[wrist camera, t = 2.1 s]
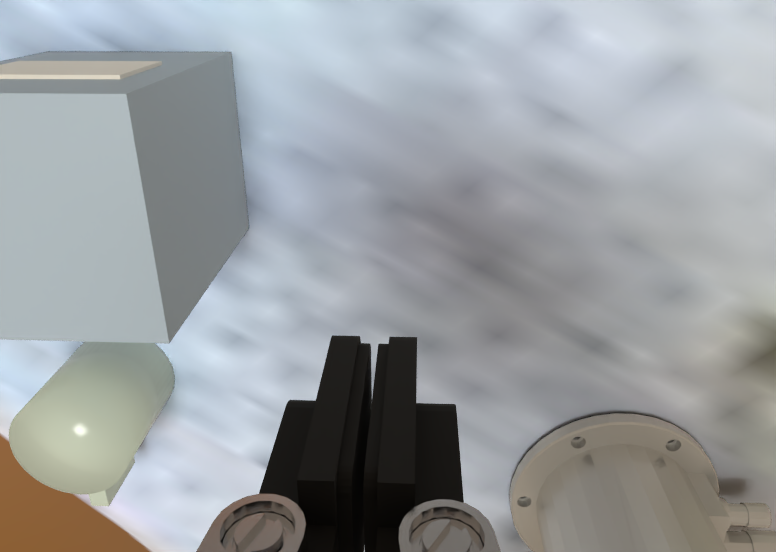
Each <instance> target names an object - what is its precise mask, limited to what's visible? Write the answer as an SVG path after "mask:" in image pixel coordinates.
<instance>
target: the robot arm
mask: <svg viewBox="0 0 776 552" xmlns="http://www.w3.org/2000/svg"><path fill="white" fill-rule="evenodd" d="M416 369H417V337H390V338H389V344H379V345H378V354H377V362H376V371H375V380H374V389H373V398H372V391H371V346H370V344H364V343H361V341H360V336H332V337H331V341H330V345H329V349H328V353H327V358H326V362H325V366H324V370H323V374H322V378H321V382H320V386H319V390H318V394H317V399H316V401H305V400H290V401H288V403H287V405H286V408H285V411H284V415H283V418H282V421H281V424H280V427H279V431H278V434H277V437H276V440H275V444H274V447H273V450H272V453H271V457H270V460H269V463H268V466H267V470H266V473H265V476H264V479H263V483H262V486H261V489H260V492H259V494H257V495H252V496H247V497H244V498H242V499H240V500H238V501H235V502H233V503H232V504H230V505H229V506H228V507H226V508H225V509H224V510H222V511H221V513H220V514H219V515H218V516H217V518H216V519H215V520H214V521H213V523H212V525H211V527H210V528H209V530H208V532H207V534H206V535H205V537H204V539H203V541H202V542H201V544H200V546H199V548H198V549H197V551H196V552H364V545H365V552H501V551H500V548H499V545H498V542H497V539H496V536H495V532H494V530H493V528H492V526H491V524H490V522H489V520H488V519H487V518H486V517H485V516H484V515H483V514H482V513H481V512H480V511H479V510H477V509H475V508H473V507H472V506H470V505H468V504H466V503H464V501H463V489H462V476H461V463H460V451H459V438H458V425H457V413H456V405H455V404H422V403H416ZM509 496H510V507H511V513H512V517H513V522H514V526H515V528H516V530H517V532H518V534H519V536H520V538H521V539H522V540H523V541H524V542H525V544H526V545H527V546H528V547H529V548H530V549H531V550H532V551H533V552H776V532H775V531H763V530H741V531H727V530H728V529H729V528H730V525H733V526H743V527H756V528H769V527H770V525H771V520H772V519H771V512H770V510H769V508H768V506H767V505H766V504H762V503H740V504H729V503H727V502H726V500H725V499H723V498H719V484H718V478H717V474H716V472H715V470H714V467H713V465H712V463H711V461H710V459H709V458H708V456H707V455H706V453H705V452H704V450H703V449H702V447H701V446H700V444H699V443H697V442H696V441H695V440H694V439H693V438H692V437H691V436H690V435H689V434H688V433H686V432H685V431H683V430H681V429H680V428H678V427H676V426H675V425H673V424H671V423H668V422H665V421H663V420H660V419H657V418H654V417H649V416H643V415H638V414H618V413H614V414H606V415H598V416H592V417H589V418H585V419H581V420H578V421H574V422H572V423H570V424H568V425H565V426H563V427H561V428H559V429H557V430H555V431H553V432H552V433H550V434H549V435H547V436H546V437H544V438H543V439H541V440H540V441H539V442H538V443H537V444H536V445H535V446H534V447H533V448H532V449H530V450H529V451H528V452H527V454H526V455H525V457H524V458H523V459H522V461H521V462H520V464H519V465H518V467H517V469H516V471H515V474H514V476H513V478H512V482H511V488H510V494H509Z"/></svg>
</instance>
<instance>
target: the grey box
mask: <svg viewBox="0 0 776 552" xmlns="http://www.w3.org/2000/svg"><path fill="white" fill-rule="evenodd" d="M248 229H249V220H248V210H247V200H246V191H245V181H244V171H243V161H242V151H241V141H240V131H239V122H238V112H237V102H236V92H235V82H234V72H233V62H232V52H89V51H48V52H43V53H38V54H33V55H29V56H24V57H19V58H14V59H9V60H4V61H0V339H8V340H48V341H89V342H129V343H170V342H171V340H172V339H173V337H174V336H175V334H176V333H177V331H178V330H179V329H180V327H181V326H182V324H183V323H184V321H185V320H186V319H187V317H188V316H189V314H190V313H191V311H192V310H193V308H194V307H195V306H196V304H197V303H198V301H199V300H200V298H201V297H202V295H203V294H204V293H205V291H206V290H207V288H208V287H209V285H210V284H211V282H212V281H213V280H214V278H215V277H216V275H217V274H218V272H219V271H220V269H221V268H222V267H223V265H224V264H225V262H226V261H227V259H228V258H229V257H230V255H231V254H232V252H233V251H234V249H235V248H236V246H237V245H238V244H239V242H240V241H241V239H242V238H243V236H244V235H245V233H246V232H247V231H248Z"/></svg>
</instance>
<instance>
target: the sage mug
mask: <svg viewBox="0 0 776 552" xmlns="http://www.w3.org/2000/svg"><path fill="white" fill-rule="evenodd" d="M174 384H175V376H174V371H173V367H172V365H171V362H170V361H169V359H168V357H167V356H166V354H165V353H164V352H163V351H162V350H161V349H160V348H159V347H158V346H157V345H156V344H155V343H129V342H89V341H85V342H84V343H83V344H82V345H81V346H80V347H79V348H78V349H77V350H76V351H75V352H74V353H73V354H72V356H71V357H70V358H69V359H68V360H67V361H66V362H65V363H64V364H63V365H62V366H61V367H60V369H59V370H58V371H57V372H56V373H55V374H54V375H53V376H52V377H51V378H50V379H49V380H48V381H47V383H46V384H45V385H44V386H43V387H42V388H41V389H40V390H39V391H38V392H37V393H36V394H35V396H34V397H33V398H32V399H31V400H30V401H29V402H28V403H27V404H26V405H25V406H24V407H23V408H22V410H21V411H20V412H19V413H18V414H17V415H16V416H15V418H14V419H13V421H12V423H11V426H10V429H9V442H10V447H11V449H12V452H13V454H14V456H15V458H16V460H17V461H18V462H19V464H20V465H21V466H22V467H23V468H24V469H25V470H26V471H27V472H28V473H29V474H30V475H31V476H32V477H34V478H35V479H36V480H38V481H40V482H41V483H43V484H45V485H47V486H49V487H51V488H54V489H56V490H59V491H63V492H66V493H72V494H89V498H90V501H91V505H92V506H109V505H110V504H111V502H112V500H113V498H114V497H115V495H116V493H117V492H118V490H119V488H120V487H121V485H122V483H123V482H124V480H125V478H126V477H127V475H128V473H129V472H130V470H131V468H132V466H133V465H134V463H135V460H134V455H135V454H136V452H137V450H138V449H139V447H140V445H141V444H142V442H143V440H144V439H145V437H146V435H147V434H148V432H149V430H150V429H151V427H152V425H153V424H154V422H155V420H156V419H157V417H158V415H159V414H160V412H161V410H162V409H163V407H164V405H165V404H166V402H167V401H168V399H169V397H170V396H171V394H172V391H173V389H174Z"/></svg>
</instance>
